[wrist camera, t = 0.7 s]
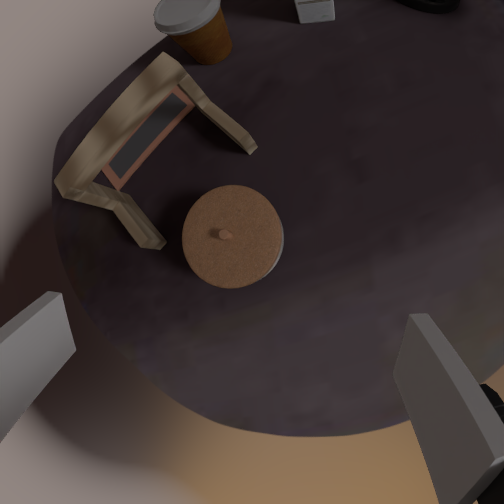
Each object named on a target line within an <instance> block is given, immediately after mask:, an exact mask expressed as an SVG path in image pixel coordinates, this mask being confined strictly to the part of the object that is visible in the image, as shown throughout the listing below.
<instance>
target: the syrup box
mask: <svg viewBox="0 0 504 504" xmlns="http://www.w3.org/2000/svg"><path fill="white" fill-rule="evenodd" d="M294 2H295V6H296V10H297V14H298V18H299V22H300V23H301V24H303V23H314V22H323V21H332V20H335V13H334V2H333V0H294Z"/></svg>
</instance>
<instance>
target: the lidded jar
mask: <svg viewBox="0 0 504 504" xmlns="http://www.w3.org/2000/svg"><path fill="white" fill-rule="evenodd" d="M283 245H284V233H283V227H282V223H281V221H280V218H279V216H278V214H277V212H276V210H275V209H274V207H273V206H272V204H271V203H270V202H269V201H268V200H267V199H266V198H265V197H264V196H263V195H261V194H260V193H259V192H257V191H255V190H253V189H251V188H248V187H245V186H240V185H226V186H221V187H218V188H215V189H213V190H211V191H209V192H207V193H206V194H204V195H203V196H202V197H200V198H199V199H198V200H197V201H196V202H195V204H194V205H193V206H192V208H191V209H190V211H189V213H188V214H187V217H186V219H185V222H184V226H183V231H182V246H183V251H184V254H185V257H186V260H187V262H188V264H189V265H190V267H191V268H192V270H193V271H194V272H195V273H196V274H197V275H198V276H199V277H200V278H201V279H202V280H204V281H205V282H207V283H209V284H211V285H213V286H217V287H220V288H229V289H231V288H240V287H244V286H247V285H250V284H252V283H254V282H256V281H258V280H260V279H261V278H263V277H265V276H266V275H267V274H268V273H269V272H270V271H271V270H272V269H273V268H274V266H275V265H276V264H277V262H278V260H279V258H280V256H281V253H282V249H283Z"/></svg>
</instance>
